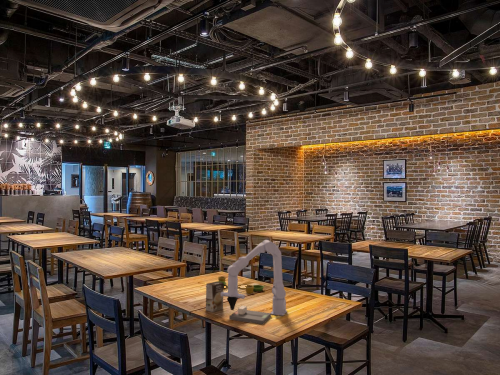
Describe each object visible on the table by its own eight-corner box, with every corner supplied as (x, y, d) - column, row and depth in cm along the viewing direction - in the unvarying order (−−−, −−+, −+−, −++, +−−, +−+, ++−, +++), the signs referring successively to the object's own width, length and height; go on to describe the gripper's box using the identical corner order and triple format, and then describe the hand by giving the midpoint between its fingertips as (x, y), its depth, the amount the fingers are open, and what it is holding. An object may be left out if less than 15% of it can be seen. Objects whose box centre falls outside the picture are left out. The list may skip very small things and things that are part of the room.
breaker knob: (237, 314, 222) (238, 308, 222) (242, 311, 228) (242, 305, 228) (242, 314, 221) (242, 309, 221) (246, 311, 227) (246, 306, 227)
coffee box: (212, 312, 232) (213, 285, 232) (205, 310, 236) (205, 283, 236) (223, 308, 239) (223, 282, 240) (216, 306, 243) (216, 281, 244)
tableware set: (203, 287, 295) (203, 278, 295) (230, 281, 315) (230, 273, 315) (241, 298, 266) (241, 288, 266) (268, 290, 286) (268, 282, 286)
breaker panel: (229, 319, 220) (229, 315, 220) (239, 312, 233) (239, 308, 233) (262, 324, 212) (262, 320, 212) (271, 316, 225) (271, 313, 226)
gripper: (218, 286, 226) (218, 310, 226) (241, 289, 221) (241, 313, 221) (223, 283, 233) (223, 306, 232) (246, 286, 227) (245, 309, 227)
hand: (232, 309), depth 227 cm, fingers closed
